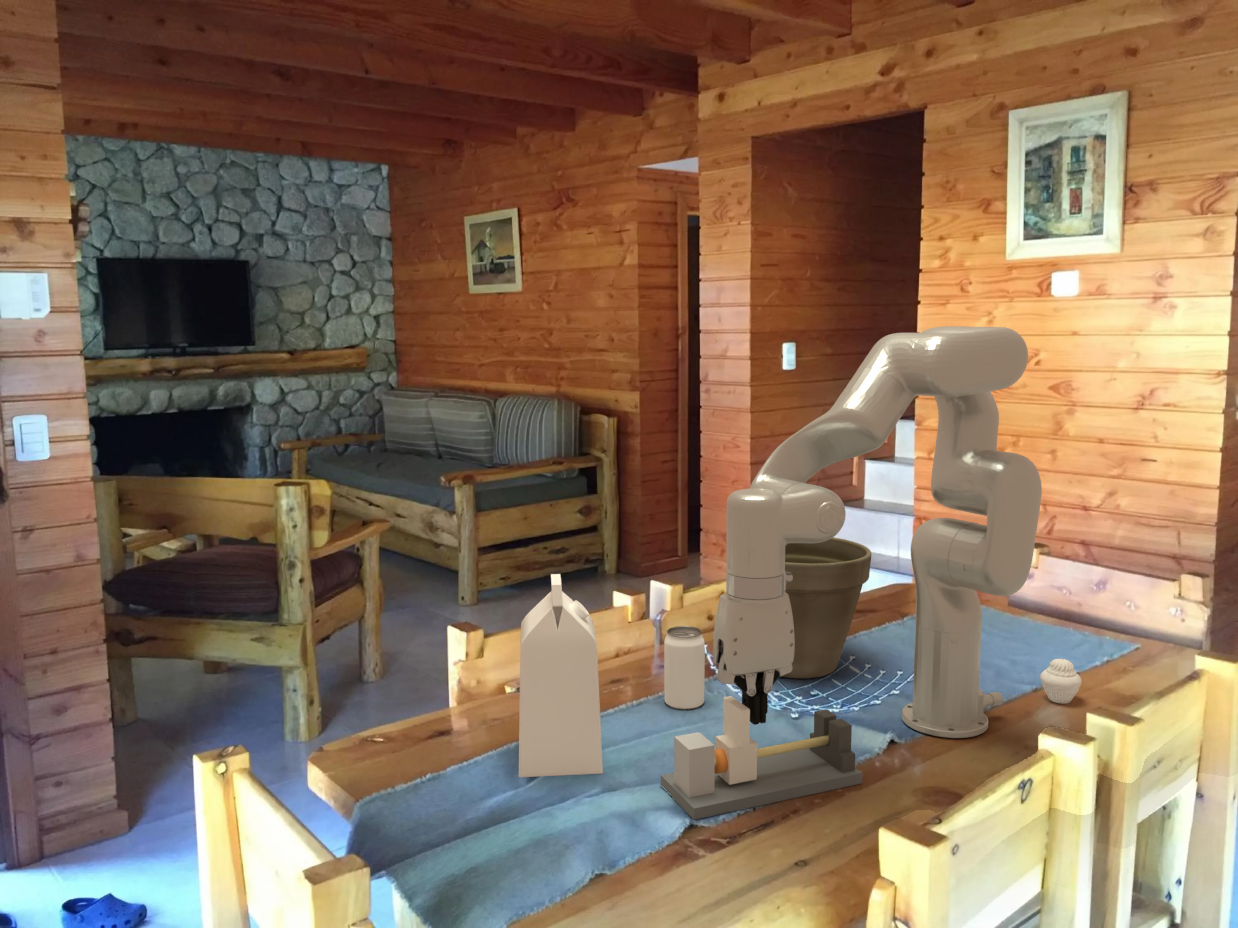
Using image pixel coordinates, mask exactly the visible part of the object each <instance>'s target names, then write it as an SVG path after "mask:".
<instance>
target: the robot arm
mask: <svg viewBox="0 0 1238 928" xmlns="http://www.w3.org/2000/svg"><path fill="white" fill-rule="evenodd" d="M1028 362H1029V351H1028V347H1027V343H1026V341H1025V339H1024V337H1022V335H1021V334H1020V333H1018V332H1017V331H1015V330H1014V329H1012V328H1009V327H1005V326H1002V327H1001V326H967V325H966V326H963V325H962V326H961V325H960V326H959V325H958V326H956V325H954V326H953V325H952V326H951V325H950V326H949V325H947V326H935V327H931V328H928V329H924V330H922V331H921V332H896V333H891V334H888V335H885V336H883V337H882V338H880V339H879V340H878V341H877V342H876V343H874V345H873V346H872V348H871V349H870V350H869V352H868V354H867V355H866V356H865V358H864V360H863V361H862V363H861V364H860V365H859V367H858V368H857V370H856V371H855V373H854V374H853V376H852V377H851V379H850V380H849V382H847V385H846V387H845V388H844V389H843V391H842V392H841V393H840V395H839V396H838V398H837V399H836V401H835V402H834V403H833V405H832V406H831V408H830V409H829V410H828V411H827V412H825V413H824V414H823V415H820V416H819V417H817V418H815V419H814V420H812V421H811V422H809V423H808V424H806V425H804V426H803V427H802V428H800V430H798V431H796V432H795V433H793V434H792V435H790V436H789V437H788V438H787V439H785V440H784V441H783V442H782V443H781V444H779V445H778V446H777V447H776V448H775V450H773V451H772V453H771V454H770V455H769V457H768V458H767V459H766V461H765V462H764V464H763V465H762V466H761V468H760V469H759V471H758V472H757V474H756V475H755V477H754V479H753V480H752V482H751V484H750V485H749V488H742V489H737V490H736V491H732V492H731V493H730V494H729V496H728V497H727V500H726V512H725V513H726V517H725V518H726V520H725V521H726V522H725V523H726V524H725V525H726V531H725V532H726V540H725V541H726V552H725V554H726V555H725V557H726V559H725V560H726V561H725V562H726V563H725V564H726V569H725V570H726V572H725V575H726V577H725V579H726V580H725V583H726V593H722V594H721V595H720V596H719V599H718V604H717V609H716V612H715V613H716V614H715V620H714V629H713V643H712V661H713V664H714V665H715V666H717V667H718V669H717V671H716V672H717V673H716V680H717V681H718V682H720V683H721V684H724V685H735V686H736V687H737V688H738V690H741V703H742V704H743V705H745V706H746V707H747V708H749V709H750V724H752V725H754V726H755V725H759V724H766V723H767V714H768V713H769V712H768V711H769V710H768V707H769V704H768V702H769V701H768V698H769V696H768V695H769V694H770V693H771V692H772V689H773V686H774V684H775V683H776V682H777V680H779V678H780V677H781V676H783V675H785V674H787V673H790V672H791V671H792V669H793V668H792V662H793V660H794V652H795V638H794V623H793V615H792V609H791V604H790V599H789V595H788V594H787V593H786V592H785V590H786V583H788V582H792V580H793V576H792V573H791V572H786V571H785V546H786V545H787V544H789V543H806V544H814V543H821V542H825V541H827V540H829V539H831V538H833V537H836V536H837V535H838V534H839V532H840V531H841V530H842V528H843V527H844V525H845V522H846V516H847V515H846V513H847V512H846V507H845V503H844V502H843V500H842V499H841V497H840V496H839V495H838V494H837V493H836V492H834V490H831V489H829V488H826V487H824V486H820V485H815V484H811V483H807V481H808V480H809V479H811V478H812V477H813V476H814V475H815V474H816V473H819V472H820V471H821V470H823V469H824V468H827V467H829V466H832V465H833V464H837V463H839V462H842V461H845V460H848V459H852V458H856V457H859V456H862V455H866V454H867V453H871V452H874V451H875V450H877V449H879V448H881V447H882V446H883V445H884V444H885V443H886V441H887V439H888V438H889V436H890V435H891V433H892V432H893V430H894V428H896V425H897V424H898V422H899V420H900V419H901V417H903V415H904V413H905V412H906V410H907V408H908V407H909V406H910V405H911V403H912V401H913V400H914V399H915V398H916V397H918V396H919V397H920V396H923V397H934V400H935V402H936V407H937V410H938V411H937V413H938V417H937V419H938V421H937V430H936V431H937V433H936V439H935V448H934V455H933V460H932V462H933V463H932V470H931V478H930V492H931V496H932V497H933V500H934V501H936V503H938V504H939V505H941V506H942V507H945V508H949V509H951V510H954V511H959V512H965V513H970V514H974V515H975V514H976V515H980V516H985V517H986V525H985V524H980V523H978V522H973V521H968V520H967V521H966V520H962V519H956V518H953V517H952V518H951V517H936V518H935V517H934V518H931V519H929V520H926V521H924V522H923V523H922V524H920V525H919V526H918V528H916V530H915V531H914V533H913V536H912V539H911V542H910V561H911V564H912V565H911V566H912V570H913V578H914V583H915V625H914V648H913V649H914V651H913V652H914V653H913V677H912V678H913V680H912V681H913V683H912V702H910V703H908V704H906V705H905V706H903V708H902V709H901V719H902V721H903V723H904V724H905V725H906V726H908V727H910V728H911V729H913V730H914V731H915V730H916V731H917V732H920V733H922V734H926V735H930V736H933V737H939V738H949V739H964V738H965V739H966V738H973V737H976V736H979V735H981V734H983V733H984V732H985V733H986V731H987V730H988V728H989V719H988V716H987V715H986V713H984V710H986V709H988V707H994V706H998V705H999V706H1000V705H1002V704H1003V702H1004V697H1003V695H1002V694H1001V693H1000V692H999V691H994V692H989V693H986V694H985V692H984V691H983V689H980V675H981V674H980V671H981V670H980V669H981V649H982V648H981V647H982V630H983V629H982V628H983V612H982V611H983V610H982V605H981V602H980V598H979V595H978V593H977V592H979V593H980V592H981V593H984V594H988V595H992V596H993V595H994V596H999V597H1008V596H1012V595H1014V594H1015V593H1018V592H1019V591H1020V590H1021V589H1023V587H1024V585H1025V583H1026V581H1027V579H1028V578H1029V575H1030V571H1031V568H1032V564H1033V558H1034V557H1033V556H1034V550H1035V543H1036V537H1037V533H1038V532H1037V531H1038V530H1037V529H1038V523H1039V517H1040V510H1041V503H1042V494H1043V492H1042V491H1043V489H1042V486H1043V485H1042V480H1041V475H1040V472H1039V470H1038V467H1037V466H1036V465H1035V464H1034V462H1033V461H1032V460H1031V459H1030V458H1028V457H1026V456H1024V455H1022V454H1018V453H1014V452H1010V451H1003V450H1002V451H1000V450H998V447H997V446H998V435H999V424H1000V413H999V408H998V405H997V402H996V400H995V397H994V395H993V394H992V392H994V391H995V392H996V391H1000V390H1001V391H1002V390H1003V389H1004V390H1005V389H1007V388H1009V387H1012V386H1013V385H1014V384H1015V383H1017V382H1018V381H1019V379H1021V378H1022V377H1023V375H1024V373H1025V371H1026V369H1027V365H1028Z"/></svg>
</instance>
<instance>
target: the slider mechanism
mask: <svg viewBox="0 0 1238 928" xmlns="http://www.w3.org/2000/svg"><path fill="white" fill-rule="evenodd" d="M813 713H814V714H813V732H811V733H809V738H806V739H800V740H795V741H791V742H790V741H789V742H785V743H780V744H775V745H771V746H764V747H761V748H758V747H757V779H755V780H751V781H746V782H741V783H736V784H731V785H729V784H728V783H727V782H726V781H725V780H724V779H723V778H721V777H720V776H719V775H718V773H723V772H726V771H727V768H728V761H727V756H726V754H725V752H724V750H723V749H715V744H714V743H713V742H712V741H711V740H709V739H708V738H707V737H705V736H704V735H703V734H702V732H698V731H697V732H692V733H687V734H683V735H682V734H681V735H676V736H674V737H673V739H674V740H673V741H674V742H673V743H674V744H673V745H674V747H673V749H674V752H673V753H674V754H673V755H674V756H673V757H674V760H673V761H674V768H673V769H674V771H673V772H669V773H664V774H660V786H661V785H662V786H663V787H664V788H665V789H666V790H667V791H668V792H669V793H670V794H671V796H672V797H673V798H672V797H671V796H670V797H671V798H672V799H673V800H674V799H675V800H674V801H675V802H676V803H677V804H678V805H679V806H680V807H681V808H682V809H683V811H685V813H687V815H688V816H689V817H690V818H692V820H694V821H695V820H700V819H703V818H708V817H709V818H710V817H712V816H713V817H714V816H718V815H721V814H722V815H723V814H726V813H732V812H737V811H740V810H746V809H751V808H754V807H760V806H764V805H769V804H773V803H778V802H783V801H787V800H792V799H797V798H801V797H802V798H803V797H806V796H810V795H815V794H819V793H825V792H829V791H833V790H834V791H835V790H837V789H842V788H848V787H852V786H857V785H861V784H863V772H862V771H861V770H859V769H858V768H856V753H855V752H854V751H853V750H852V735H853V733H852V728H853V726H852V724H851V723H850V722H848V721H846V720H845V719H843V718H838V719H837V715H836V714H835V713H834V712H832V711H830V710H829V709H825V708H824V709H820V710H815V711H814V712H813ZM662 786H661V787H662ZM663 787H662V788H663ZM664 788H663V789H664ZM665 789H664V790H665Z"/></svg>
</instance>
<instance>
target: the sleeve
mask: <svg viewBox="0 0 1238 928" xmlns="http://www.w3.org/2000/svg"><path fill="white" fill-rule="evenodd" d="M722 701H723V705H722V709H723V711H722V713H723V714H722V727H723V728H722V735H716V736H714V737H715V740H714V742H715V744H714V745H715V749H723V750H724V752H725V754H726V756H727V761H728V768H727V771H726V772H723V773H718V775H719V776H720V777H721V778H723V779H724V780H725V781H726V782H727V783H728V784H729V785H731V784H736V783H741V782H746V781H751V780H755V779H757V749H758V743H757V742H756V741H755V740H754V739H753V738H751V736H750V734H751V733H750V729H751V727H750V726H751V725H750V724H751V722H750V709H749V708H747V707H746V706H745V705H743V704H742V702H740V701H739V700H738V699H736V698H735V697H733V696H732V695H729V696H723V699H722Z"/></svg>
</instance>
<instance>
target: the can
mask: <svg viewBox="0 0 1238 928" xmlns="http://www.w3.org/2000/svg"><path fill="white" fill-rule="evenodd" d="M702 633H703V631H702V630H701V629H700V628H699V627H695V626H690V625H677V626H673V627H670V628H668V629H667V630H666V635H665V638H664V644H663V645H664V646H663V647H664V648H663V649H664V650H663V653H664V654H663V656H664V657H663V666H664V667H663V668H664V669H663V673H664V674H663V675H664V676H663V677H664V678H663V680H664V684H663V685H664V686H663V687H664V691H663V692H664V702H665V703H666V705H667V706H669V707H670V708H672V709H677V710H683V711H684V710H687V709H688V710H695V709H697V708H699V707H701V706H702V705H703V704H704V703H705V673H706V672H705V665H706V663H705V653H706V651H705V639H704V637H703V635H702Z"/></svg>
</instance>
